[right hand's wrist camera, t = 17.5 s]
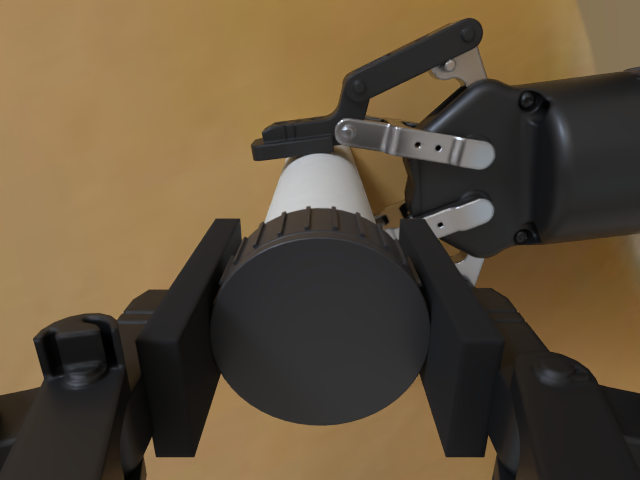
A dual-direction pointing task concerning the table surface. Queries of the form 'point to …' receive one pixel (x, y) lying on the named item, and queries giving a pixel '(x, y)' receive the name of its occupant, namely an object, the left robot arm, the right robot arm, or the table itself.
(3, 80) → the table surface
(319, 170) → the white cylinder
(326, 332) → the lid
